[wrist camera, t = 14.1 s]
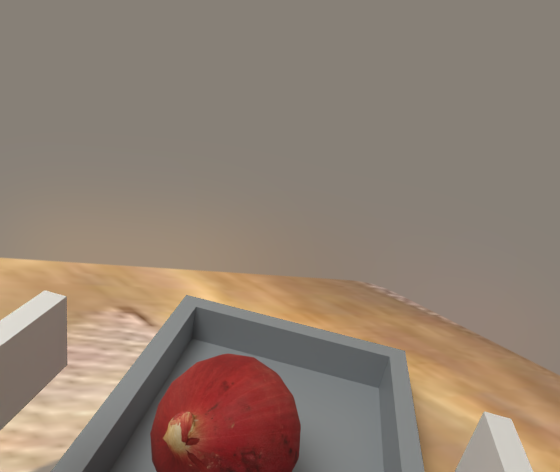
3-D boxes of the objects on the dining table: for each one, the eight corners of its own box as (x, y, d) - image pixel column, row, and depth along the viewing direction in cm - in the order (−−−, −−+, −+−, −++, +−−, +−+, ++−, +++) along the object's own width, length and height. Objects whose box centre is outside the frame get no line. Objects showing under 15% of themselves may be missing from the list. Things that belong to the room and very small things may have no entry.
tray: (390, 388, 27) (404, 350, 26) (419, 674, 14) (449, 624, 13) (182, 333, 29) (186, 294, 27) (36, 550, 16) (32, 494, 14)
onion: (343, 444, 19) (304, 471, 12) (241, 524, 19) (141, 599, 12) (271, 338, 22) (203, 308, 14) (182, 409, 22) (69, 414, 14)
